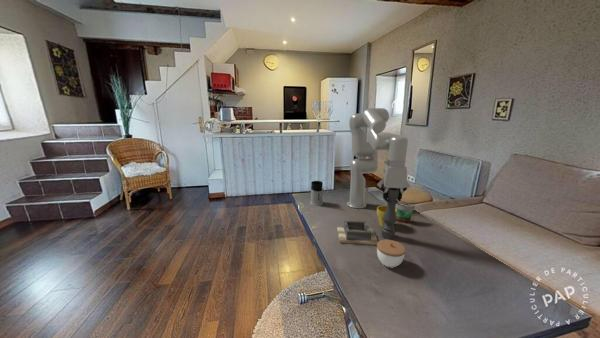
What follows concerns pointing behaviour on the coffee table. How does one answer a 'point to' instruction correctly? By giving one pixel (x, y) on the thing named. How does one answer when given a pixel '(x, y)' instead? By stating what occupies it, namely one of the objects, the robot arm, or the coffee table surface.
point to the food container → (404, 212)
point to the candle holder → (390, 214)
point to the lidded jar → (390, 253)
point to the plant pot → (382, 214)
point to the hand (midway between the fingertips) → (391, 199)
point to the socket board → (356, 233)
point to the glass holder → (317, 193)
